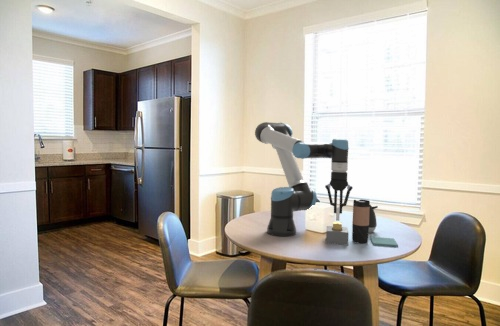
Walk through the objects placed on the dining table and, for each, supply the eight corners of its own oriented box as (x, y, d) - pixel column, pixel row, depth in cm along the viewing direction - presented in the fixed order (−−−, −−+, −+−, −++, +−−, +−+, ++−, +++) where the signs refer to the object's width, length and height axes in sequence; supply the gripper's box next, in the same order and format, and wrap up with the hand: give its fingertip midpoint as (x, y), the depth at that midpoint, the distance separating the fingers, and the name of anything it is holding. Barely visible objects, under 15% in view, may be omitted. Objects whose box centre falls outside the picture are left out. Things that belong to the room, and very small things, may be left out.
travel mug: (366, 244, 163) (367, 202, 162) (349, 242, 167) (351, 201, 166) (369, 240, 170) (371, 200, 168) (354, 238, 174) (355, 198, 172)
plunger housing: (326, 243, 164) (326, 230, 164) (326, 237, 174) (326, 225, 174) (348, 245, 162) (348, 232, 162) (346, 239, 172) (347, 227, 171)
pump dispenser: (378, 234, 181) (379, 206, 180) (357, 233, 183) (358, 205, 182) (375, 229, 191) (376, 202, 190) (355, 228, 193) (356, 201, 192)
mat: (373, 245, 163) (373, 243, 163) (370, 238, 174) (370, 236, 174) (398, 247, 161) (398, 245, 160) (393, 240, 171) (393, 238, 171)
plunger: (332, 236, 166) (333, 223, 166) (332, 233, 170) (333, 221, 170) (341, 236, 165) (341, 224, 165) (341, 234, 169) (341, 222, 169)
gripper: (325, 171, 163) (323, 220, 165) (354, 172, 161) (352, 222, 162) (325, 170, 171) (323, 217, 172) (352, 171, 168) (351, 219, 170)
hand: (337, 220), depth 167 cm, fingers closed
